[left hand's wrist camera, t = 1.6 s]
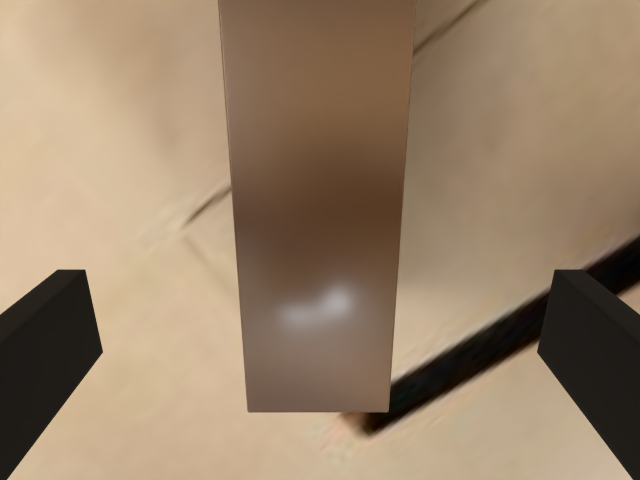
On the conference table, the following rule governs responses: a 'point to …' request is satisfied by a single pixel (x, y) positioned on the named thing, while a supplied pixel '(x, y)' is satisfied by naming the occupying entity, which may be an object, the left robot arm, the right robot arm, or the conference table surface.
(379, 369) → the bar
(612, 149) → the conference table surface
